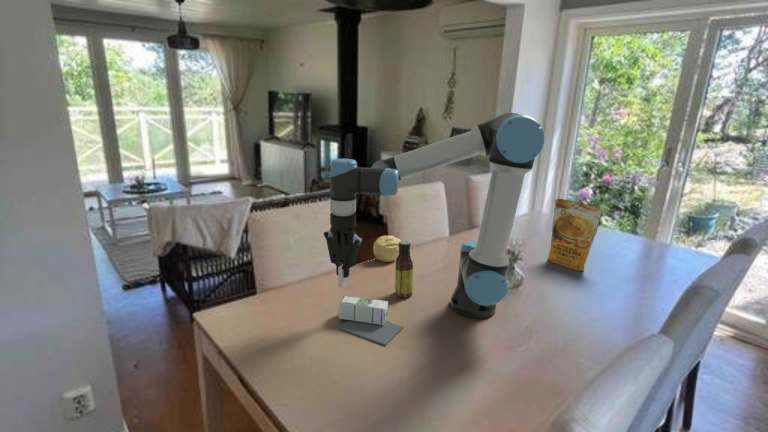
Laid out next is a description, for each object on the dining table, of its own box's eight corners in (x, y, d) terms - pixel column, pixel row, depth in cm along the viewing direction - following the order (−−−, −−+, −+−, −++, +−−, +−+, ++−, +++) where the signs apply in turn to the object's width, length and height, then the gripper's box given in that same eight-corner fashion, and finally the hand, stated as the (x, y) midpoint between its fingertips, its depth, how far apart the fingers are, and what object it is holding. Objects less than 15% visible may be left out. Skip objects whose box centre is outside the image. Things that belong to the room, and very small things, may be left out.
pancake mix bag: (549, 256, 186) (559, 196, 178) (591, 270, 172) (604, 206, 164) (541, 259, 182) (551, 198, 174) (584, 274, 168) (597, 209, 160)
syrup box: (338, 319, 126) (384, 326, 124) (339, 301, 125) (385, 308, 122) (343, 311, 132) (387, 318, 129) (344, 294, 130) (388, 300, 128)
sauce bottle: (414, 292, 147) (418, 241, 141) (408, 300, 141) (411, 246, 136) (398, 288, 149) (400, 238, 144) (391, 296, 144) (393, 243, 138)
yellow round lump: (379, 266, 168) (380, 241, 165) (369, 255, 179) (369, 232, 176) (404, 262, 173) (405, 238, 170) (392, 252, 183) (393, 229, 180)
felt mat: (403, 328, 124) (403, 326, 124) (385, 346, 115) (385, 344, 115) (359, 313, 132) (359, 311, 132) (339, 329, 123) (339, 327, 122)
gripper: (368, 213, 119) (367, 286, 125) (332, 206, 125) (333, 276, 131) (354, 219, 112) (353, 296, 119) (317, 211, 118) (318, 285, 125)
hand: (342, 285), depth 125 cm, fingers closed
